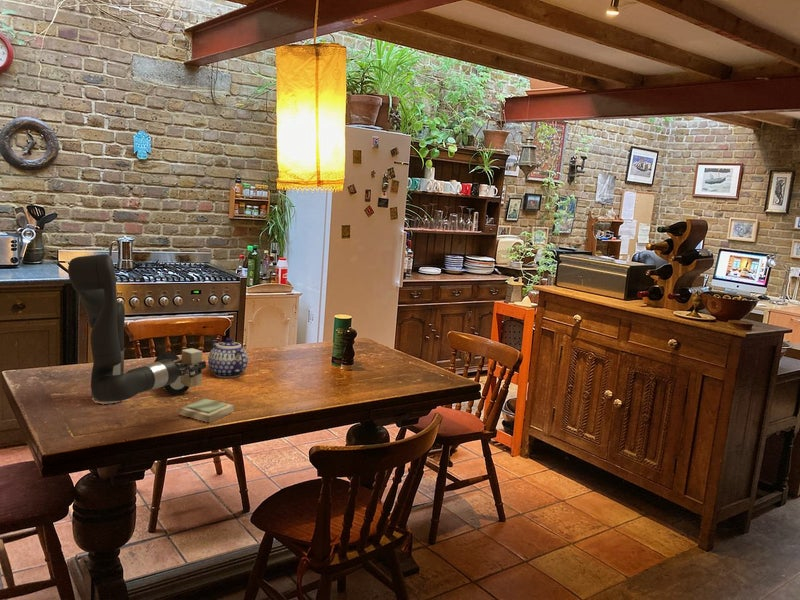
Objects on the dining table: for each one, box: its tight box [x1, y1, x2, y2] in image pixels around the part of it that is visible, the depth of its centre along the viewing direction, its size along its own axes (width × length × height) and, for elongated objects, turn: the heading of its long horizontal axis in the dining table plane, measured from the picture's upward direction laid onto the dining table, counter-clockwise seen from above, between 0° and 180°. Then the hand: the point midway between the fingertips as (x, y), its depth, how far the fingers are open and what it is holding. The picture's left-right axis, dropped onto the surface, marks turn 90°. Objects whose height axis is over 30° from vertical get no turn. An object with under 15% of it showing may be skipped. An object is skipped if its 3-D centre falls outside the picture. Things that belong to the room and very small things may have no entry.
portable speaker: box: [153, 351, 190, 395], centre depth 234 cm, size 26×10×10 cm, turn 29°
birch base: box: [178, 397, 235, 424], centre depth 209 cm, size 12×12×3 cm
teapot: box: [207, 337, 249, 379], centre depth 252 cm, size 25×15×15 cm, turn 40°
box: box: [180, 347, 203, 388], centre depth 201 cm, size 5×4×11 cm
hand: (197, 362), depth 203 cm, fingers closed on box, 5 cm apart
